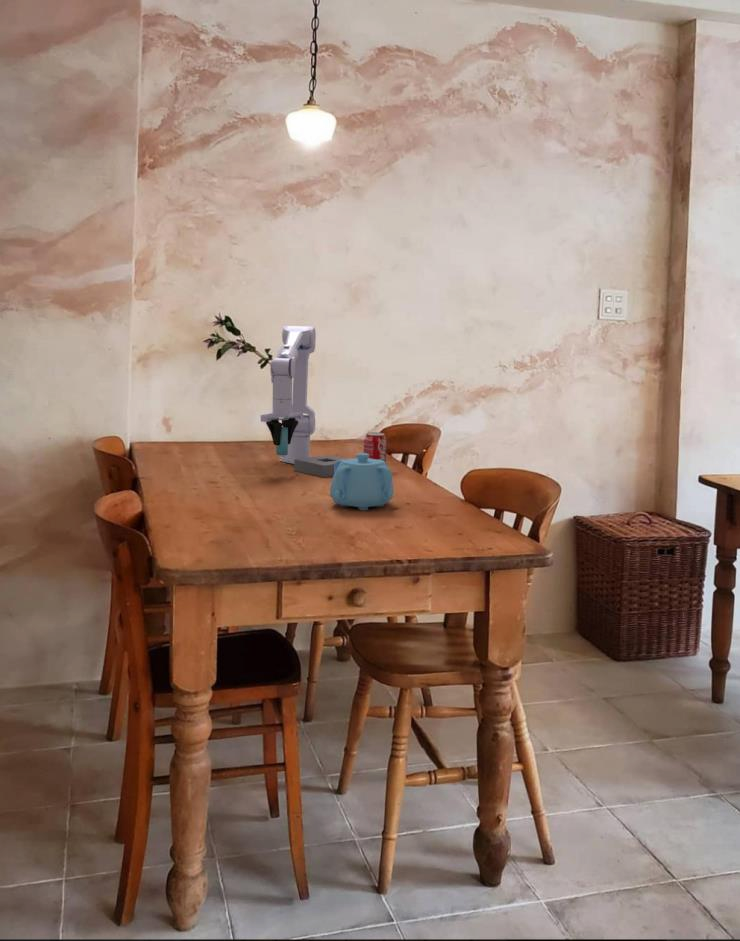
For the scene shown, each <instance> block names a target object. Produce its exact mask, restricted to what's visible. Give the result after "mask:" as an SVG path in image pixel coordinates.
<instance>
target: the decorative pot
mask: <svg viewBox="0 0 740 941" xmlns="http://www.w3.org/2000/svg"><path fill="white" fill-rule="evenodd" d="M368 457H369V454H367V453H363V452H359V453H358V452H357V453H356V458H354V457H353V458H346V459H347V460H345V459H341V460H338V461H337V462H336V463H335V465H334V473H335V474H334V476H332V480H331V483H330V488H329V490H330V491H329V493H330V497H331V498H332V500H333V501H334V503H336V504H339V505H340V507H355V508H357V509H360V510H359V511H368V510H369V507H378V508H379V507H380V508H381V507H385V504H387V503H389V502H390V501H391V500H392V499H393V497H394V483H393V475H394V474H393V472H392V470H391V469H390V468H389V465H388V463H387V461H386V462H385V461H383V460H376V459H369V458H368Z"/></svg>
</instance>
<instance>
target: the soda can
mask: <svg viewBox="0 0 740 941" xmlns="http://www.w3.org/2000/svg"><path fill="white" fill-rule="evenodd" d="M385 435H386V434H385V433H383V432H376V431H374V432H367V433H366V434H365V436H364V439H363V452H362V453H367V454H369V457H368V458H369V459H376V460H383V461H385V462H386V463H387V438H386V436H385Z"/></svg>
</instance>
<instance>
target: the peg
mask: <svg viewBox="0 0 740 941" xmlns="http://www.w3.org/2000/svg"><path fill="white" fill-rule="evenodd" d="M275 446H276V448H275V452H276V453H275V455H277V456H281V455H288V428H287V427H283V426H282V429H281V438H280V445H279V446H277V445H275Z"/></svg>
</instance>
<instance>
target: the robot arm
mask: <svg viewBox="0 0 740 941" xmlns="http://www.w3.org/2000/svg"><path fill="white" fill-rule="evenodd" d="M281 334H282V335H281V337H282V343H283V345H282V346H281V347H280V348H279V351H278V353H277V356H276V357H274V358H272V359H271V361H270V368H269V369H270V371H269V372H270V376H271V378H270V380H271V384H272V413H266V414H260V422H263V423H265V425H266V427H267V428H268V430H269V432H270V436H271V438H272V442H273V445H274V446H276V445H277V446H279V445H280V438H281V429H282V427H287V428H288V455H280V456H281V457H280V459H278V461H279V462H282V463H287V464H293V465H294V459H301V458H309V457H311V435H313V434H314V433H315V431H316V413H315V411H314V410H313V408H311V407H310V406H309V405H308V404H307V403H308V402H307V401H308V400H307V399H308V375H309V374H308V372H309V359H310V354H313V353H315V352H316V351H315V349H316V337H317V336H316V335H317V332H316V328H315V327H314V326H313V325H310V326H309V325H308V326H307V325H305V326H304V325H284V326H283V328H282V333H281ZM280 421H281V422H280Z"/></svg>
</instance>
